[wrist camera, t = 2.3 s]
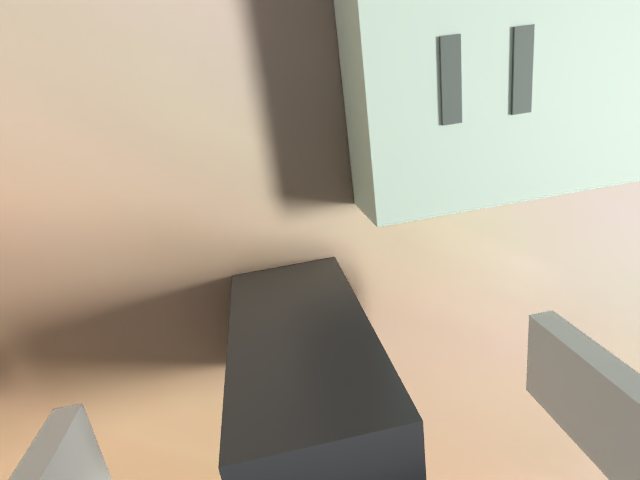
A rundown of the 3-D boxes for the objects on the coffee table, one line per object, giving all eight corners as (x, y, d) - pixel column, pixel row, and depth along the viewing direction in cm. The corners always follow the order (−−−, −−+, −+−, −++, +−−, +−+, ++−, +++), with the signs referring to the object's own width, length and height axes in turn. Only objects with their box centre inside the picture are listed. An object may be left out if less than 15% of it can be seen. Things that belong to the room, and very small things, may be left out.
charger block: (251, 363, 18) (256, 610, 9) (232, 275, 16) (218, 472, 8) (345, 343, 18) (432, 563, 10) (334, 256, 17) (424, 425, 8)
